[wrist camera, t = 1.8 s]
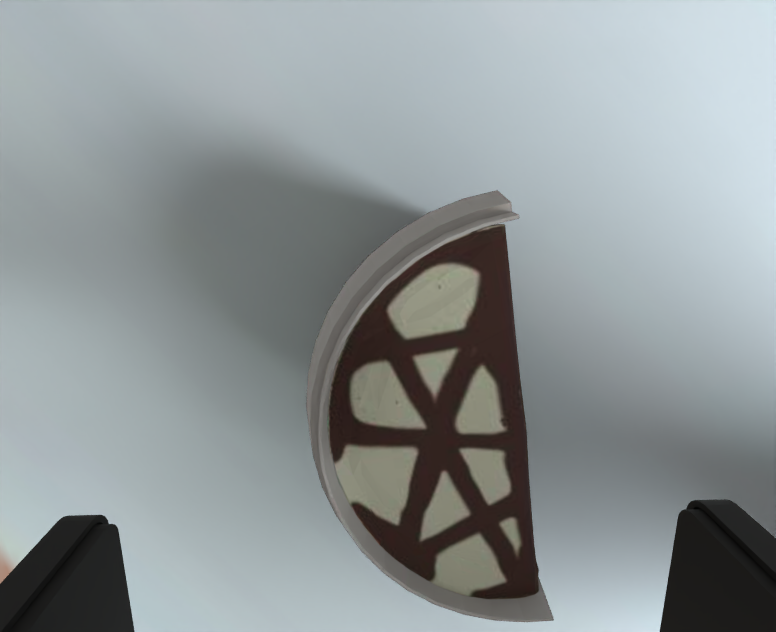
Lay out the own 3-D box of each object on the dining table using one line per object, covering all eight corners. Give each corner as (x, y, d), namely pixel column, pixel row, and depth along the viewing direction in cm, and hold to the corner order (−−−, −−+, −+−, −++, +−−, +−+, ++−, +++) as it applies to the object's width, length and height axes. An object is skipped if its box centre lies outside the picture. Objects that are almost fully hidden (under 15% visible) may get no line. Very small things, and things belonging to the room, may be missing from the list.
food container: (308, 211, 21) (247, 231, 12) (455, 189, 21) (517, 190, 11) (356, 474, 24) (339, 664, 15) (485, 456, 24) (555, 636, 14)
